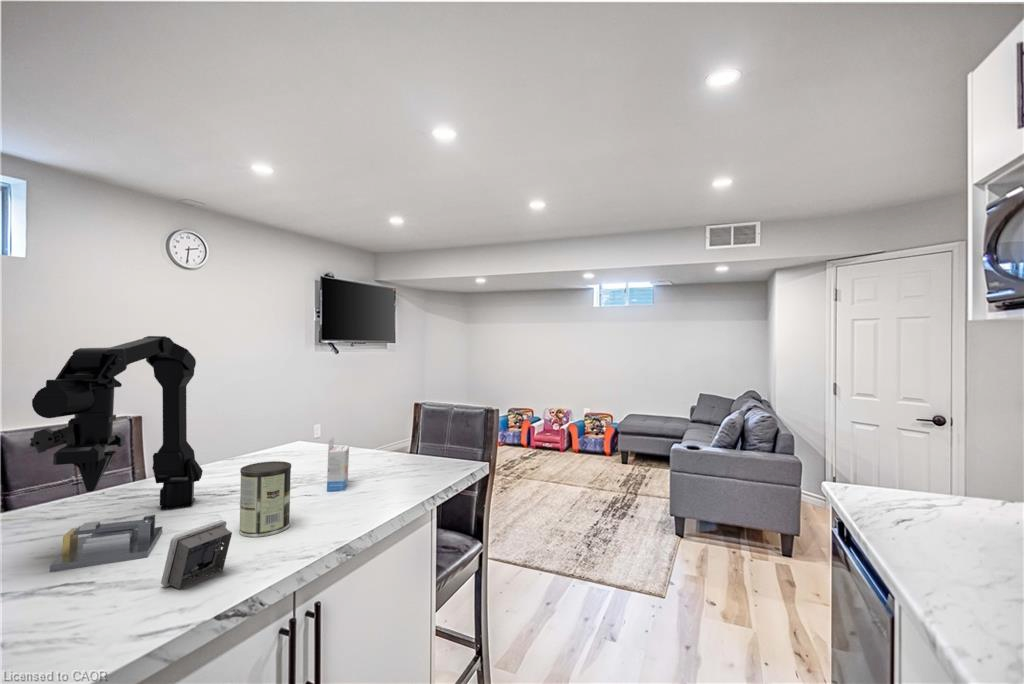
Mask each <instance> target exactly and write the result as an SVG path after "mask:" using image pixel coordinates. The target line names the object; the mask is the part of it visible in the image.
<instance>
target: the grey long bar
mask: <svg viewBox="0 0 1024 684" xmlns="http://www.w3.org/2000/svg"><path fill="white" fill-rule="evenodd" d="M152 521H153V519H152V518H150V517H149V518H146V519H144V518H143V519H134V520H125V521H117V522H108V523H101V520H99V521H89V522H84V523H83V524H81V525H80V526H78V527H76V528H77V529H76V530H75V531H74V536H75V535H78V536H81V535H82V536H83V535H88V534H89V535H92V533H101V532H109V531H118V530H127V529H135V528H138V524H139V523H145V522H151V523H152Z"/></svg>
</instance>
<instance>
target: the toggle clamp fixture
mask: <svg viewBox="0 0 1024 684" xmlns="http://www.w3.org/2000/svg"><path fill="white" fill-rule="evenodd" d="M149 517H150V518H152V519H153V521H152V523H151V522H145V523H139V524H138V528H135V529H127V530H118V531H109V532H101V533H92V534H89V535H87V536H79V535H75V536H74V531H75V530H76V529H77V528H78V527H75V528H74V527H72V528H70V529H69V531H67V532H66V533H65V534H64V535H63V536H62V549H61V550H62V551H61V552H62V553H61V554H60V555H59V556H58V557H57V558H56V559H54V561H53V562H52V563H51V564H50V565H49V573H51V572H59V571H66V570H71V569H79V568H85V567H92V566H98V565H104V564H105V565H106V564H111V563H119V562H124V561H125V562H126V561H132V560H137V559H138V560H139V559H145V558H148V557H149V555H150V553H151V552H152V551H153V549H154V547H155V545H156V544H157V542H158V540H159V539H160V537H161V535H162V533H163V526H159V527H158V526H157V527H156V514H151V515H150V514H149V515H144V517H143V519H146V518H149Z"/></svg>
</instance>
